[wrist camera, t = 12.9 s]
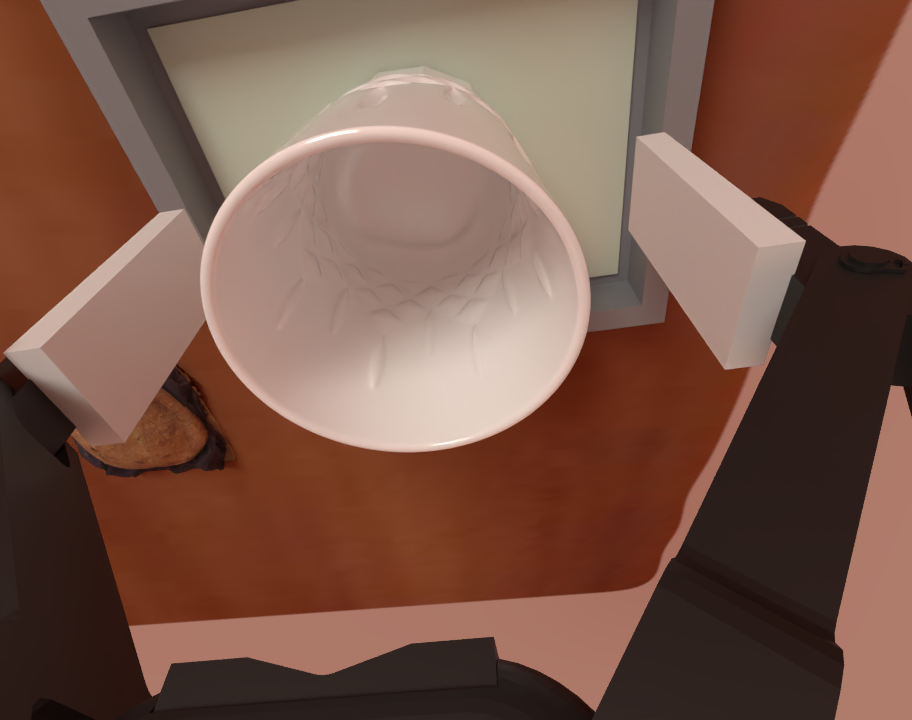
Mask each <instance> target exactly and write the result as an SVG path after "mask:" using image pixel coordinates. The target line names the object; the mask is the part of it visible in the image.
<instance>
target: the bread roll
mask: <svg viewBox="0 0 912 720" xmlns="http://www.w3.org/2000/svg"><path fill="white" fill-rule="evenodd" d="M200 395H201V393H200V392H198V391H197V389H196V387H195V386H193V385H191V380H190V378H189V376H188V375H187V374H185V373H183V372H182V371H181V370H180V369H179V368H178V367H177V366H176V365H175V367H174V368H173V370H172V372H171V373H170V375H169V376H168V378H167V379H166V381H165V382H164V384H163V385H162V387H161V388H160V390H159V391H158V393H157V394H156V396H155V397H154V399H153V400H152V402H151V403H150V405H149V407H148V408H147V410H146V411H145V413H144V414H143V416H142V417H141V419H140V420H139V422H138V423H137V425H136V426H135V428H134V429H133V431H132V432H131V434H130V435H129V437H128V438H127V440H126V441H125V443H117V444H109V445H101V446H92V445H91V444H90V443H89V442H88V441H87V440H86V438H85V437H84V436H83V435H82V434H81V433H80V432H79V431H78V430H77V429H75V430H74V431H73V433H72V434H71V436H72V438H73V439H74V441H75V444H76V445H77V446H78V449H79V453H80V454H81V456H82V457H83V458H85V459H86V460H87V461H89V462H90V463H91V464H92V465H94V466H96V467H98V468H101V469H104V470H105V471H106V475H114V476H119V477H131V476H134V477H137V476H138V475H140V474H142V473H144V472H146V471H156V470H167V469H169V470H171V471H172V472H173V473H175V474H178V473H181V472H184V471H187V470H190V469H195V468H198V469H202V470H204V471H208V470H210V471H211V470H215V469H219V470H222V469H224V462H225V461H231V460H234V459H235V456H234V452H233V449H232V448H231V446H230V444H229V442H228V440H227V438H226V437H225V435H224V432H223V431H222V430H221V428H220V427H219V424H218V422H217V420H216V419H215V418H214V416H212V414H211V412H210V411H209V409H208V408H207V407H206V406H205V403H204V402H203V401H202V399H201V398H199V396H200Z"/></svg>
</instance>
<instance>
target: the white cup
mask: <svg viewBox="0 0 912 720" xmlns="http://www.w3.org/2000/svg"><path fill="white" fill-rule="evenodd" d="M200 290H201V299H202V305H203V309H204V314H205V317H206V321H207V324H208V327H209V329H210V332H211V334H212V337H213V339H214V341H215V343H216V345H217V347H218V349H219V351H220V352H221V354H222V356H223V357H224V359H225V360H226V362H227V363H228V365H229V366H230V368H231V369H232V370H233V372H234V373H235V374H236V375H237V377H238V378H239V379H240V380H241V381H242V382H243V383H244V385H245V386H246V387H247V388H248V389H249V390H250V391H251V392H252V393H253V394H255V395H256V396H257V397H258V398H259V399H260V400H261V401H263V402H264V403H265V404H266V405H268V406H269V407H270V408H272V409H273V410H274V411H276V412H277V413H279V414H280V415H282V416H283V417H285V418H286V419H288V420H290V421H291V422H293V423H295V424H297V425H299V426H301V427H303V428H305V429H307V430H309V431H311V432H313V433H315V434H318V435H320V436H323V437H326V438H328V439H331V440H334V441H337V442H340V443H344V444H348V445H352V446H356V447H361V448H366V449H372V450H379V451H388V452H427V451H437V450H444V449H450V448H455V447H459V446H463V445H467V444H471V443H474V442H477V441H480V440H483V439H485V438H488V437H490V436H493V435H495V434H497V433H500V432H502V431H504V430H506V429H508V428H509V427H511V426H513V425H515V424H516V423H518V422H520V421H521V420H523V419H524V418H526V417H527V416H528V415H530V414H531V413H533V412H534V411H535V410H536V409H537V408H539V407H540V406H541V405H542V404H543V403H544V402H545V401H546V400H547V399H548V398H549V397H550V396H551V395H552V394H553V393H554V392H555V391H556V390H557V389H558V388H559V386H560V385H561V384H562V382H563V381H564V380H565V378H566V377H567V375H568V374H569V372H570V371H571V369H572V367H573V366H574V364H575V362H576V360H577V358H578V356H579V354H580V351H581V349H582V346H583V343H584V340H585V337H586V333H587V329H588V324H589V318H590V309H591V290H590V280H589V274H588V269H587V265H586V261H585V258H584V255H583V252H582V249H581V246H580V244H579V242H578V239H577V237H576V235H575V233H574V231H573V229H572V228H571V226H570V224H569V222H568V221H567V219H566V218H565V216H564V214H563V213H562V211H561V210H560V208H559V206H558V205H557V203H556V201H555V200H554V198H553V197H552V195H551V193H550V192H549V190H548V188H547V187H546V185H545V183H544V182H543V180H542V178H541V177H540V175H539V173H538V171H537V170H536V168H535V166H534V165H533V163H532V161H531V160H530V158H529V156H528V155H527V153H526V151H525V150H524V148H523V147H522V145H521V144H520V143H519V141H518V140H517V139H516V138H515V136H514V135H513V133H512V132H511V130H510V129H509V127H508V126H507V124H506V123H505V122H504V120H503V119H502V118H501V117H500V115H499V114H498V113H497V112H496V111H495V110H494V109H493V108H492V107H491V106H490V105H488V103H487V102H486V101H485V100H484V99H483V98H482V97H481V95H480V94H479V93H478V92H477V91H476V90H475V89H474V88H473V86H472V85H471V84H470V83H469V82H466V81H464V80H461V79H458V78H456V77H453V76H451V75H448V74H445V73H443V72H440V71H438V70H435V69H432V68H430V67H427V66H418V67H411V68H404V69H398V70H391V71H384V72H378V73H377V74H375V75H374V76H373V77H372V78H370V79H369V80H368V81H367V82H365V83H364V84H361V85H359V86H357V87H355V88H353V89H351V90H349V91H348V92H346V93H345V94H343V95H342V96H341V97H340V98H338V99H336V100H335V101H333V102H332V103H330V104H328V105H327V107H325V108H324V109H323V110H322V111H321V112H320V113H318V114H317V115H316V116H315V117H314V118H313V119H311V120H310V121H309V122H308V123H307V124H306V125H305V126H303V127H302V128H301V129H300V130H299V131H297V132H296V133H295V134H294V135H293V136H292V137H291V138H290V139H288V140H287V141H286V142H285V143H284V144H283V145H282V146H280V147H279V148H278V149H277V150H276V151H275V152H273V153H272V154H271V155H270V156H269V157H268V158H266V159H265V160H264V161H263V162H262V163H261V164H259V165H258V166H257V167H256V168H255V169H253V170H252V171H251V172H250V173H249V174H248V175H247V176H246V177H244V178H243V179H242V180H241V182H240V183H239V184H238V185H237V186H236V187H235V188H234V189H233V191H232V192H231V193H230V194H229V196H228V197H227V198H226V200H225V201H224V203H223V204H222V206H221V207H220V209H219V211H218V212H217V214H216V216H215V218H214V220H213V222H212V225H211V227H210V229H209V232H208V235H207V238H206V241H205V245H204V249H203V254H202V259H201V268H200Z"/></svg>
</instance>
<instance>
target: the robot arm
mask: <svg viewBox="0 0 912 720" xmlns="http://www.w3.org/2000/svg"><path fill="white" fill-rule="evenodd" d="M628 230H629V232H630V233H631V235H632V236H633V238H634V239H635V240H636V242H637V243H638V245H639V246H640V248H641V249H642V251H643V252H644V254H645V255H646V256H647V258H648V259H649V261H650V262H651V264H652V265H653V267H654V268H655V269H656V271H657V272H658V274H659V275H660V277H661V278H662V280H663V281H664V282H665V284H666V285H667V287H668V288H669V290H670V291H671V293H672V294H673V296H674V297H675V298H676V300H677V301H678V303H679V304H680V306H681V307H682V309H683V310H684V311H685V313H686V314H687V316H688V317H689V319H690V320H691V322H692V323H693V324H694V326H695V327H696V329H697V330H698V332H699V333H700V335H701V336H702V338H703V339H704V340H705V342H706V343H707V345H708V346H709V348H710V349H711V351H712V352H713V353H714V355H715V356H716V358H717V359H718V361H719V362H720V364H721V365H722V367H723V368H724V369H725V370H726V369H734V368H743V367H751V366H759V365H764V362H765V359H766V356H767V353H768V350H769V347H770V344H771V342H772V341H773V343H774V344H775V345H776V346H777V347H776V349H775V352H774V354H773V356H772V358H771V360H770V362H769V364H768V366H767V368H766V371H765V372H764V375H763V377H762V379H761V381H760V383H759V385H758V387H757V389H756V391H755V393H754V396H753V398H752V400H751V402H750V404H749V406H748V408H747V410H746V413H745V414H744V417H743V419H742V421H741V423H740V425H739V427H738V429H737V431H736V433H735V435H734V438H733V440H732V442H731V444H730V446H729V448H728V450H727V452H726V454H725V456H724V459H723V461H722V463H721V465H720V467H719V469H718V471H717V473H716V476H715V477H714V480H713V482H712V484H711V486H710V488H709V490H708V492H707V494H706V496H705V498H704V500H703V502H702V505H701V507H700V509H699V511H698V513H697V516H696V517H695V519H694V521H693V524H692V526H691V528H690V530H689V532H688V534H687V536H686V538H685V541H684V542H683V544H682V547H681V548H680V550H679V552H678V554H677V556H676V557H675V558H672V559H671V561H670V562H669V564H668V565H667V567H666V569H665V571H664V573H663V575H662V577H661V579H660V580H659V582H658V584H657V587H656V588H655V591H654V593H653V595H652V597H651V599H650V601H649V603H648V605H647V607H646V609H645V611H644V613H643V615H642V617H641V620H640V622H639V623H638V626H637V628H636V630H635V632H634V634H633V636H632V638H631V640H630V642H629V644H628V646H627V648H626V650H625V653H624V655H623V657H622V659H621V661H620V663H619V665H618V667H617V669H616V671H615V673H614V675H613V677H612V679H611V681H610V683H609V686H608V687H607V690H606V692H605V694H604V696H603V698H602V700H601V702H600V704H599V706H598V708H597V710H596V712H595V711H594V710H592V709H591V708H590V707H589V706H588V705H587V704H586V703H585V702H584V701H583V700H582V699H580V698H579V697H578V696H577V695H576V694H574V693H573V692H571V691H570V690H569V689H567V688H566V687H565V686H563V685H562V684H560V683H559V682H557V681H556V680H554V679H552V678H550V677H548V676H546V675H544V674H543V673H541V672H539V671H537V670H534V669H531V668H529V667H526V666H524V665H521V664H519V663H515V662H510V661H506V660H502V659H499V657H498V653H497V649H496V645H495V640H494V637H486V638H474V639H462V640H450V641H438V642H426V643H415V644H409V645H407V646H404V647H402V648H399V649H396V650H394V651H391V652H388V653H386V654H383V655H380V656H378V657H375V658H372V659H370V660H367V661H364V662H362V663H359V664H356V665H354V666H351V667H348V668H346V669H343V670H340V671H338V672H335V673H332V674H329V675H316V674H311V673H307V672H304V671H300V670H295V669H291V668H288V667H284V666H280V665H275V664H271V663H268V662H264V661H259V660H255V659H251V658H247V657H246V658H234V659H223V660H211V661H199V662H187V663H174V664H171V666H170V669H169V671H168V674H167V677H166V679H165V682H164V685H163V687H162V690H161V692H160V693H159V694H157V695H155V696H153V697H152V696H151V695H150V693H149V691H148V688H147V686H146V683H145V680H144V677H143V673H142V670H141V666H140V663H139V660H138V656H137V653H136V650H135V646H134V643H133V639H132V636H131V632H130V629H129V626H128V622H127V619H126V616H125V612H124V609H123V605H122V602H121V599H120V595H119V592H118V589H117V585H116V582H115V578H114V575H113V572H112V568H111V565H110V562H109V558H108V555H107V551H106V548H105V545H104V541H103V538H102V535H101V531H100V528H99V524H98V521H97V518H96V514H95V511H94V507H93V504H92V501H91V497H90V494H89V491H88V487H87V484H86V480H85V477H84V474H83V470H82V467H81V464H80V460H79V457H78V453H77V452H76V451H75V450H74V449H73V448H72V447H71V446H70V445H69V444H68V443H67V442H66V440H67V439H68V438H69V436H70V435H71V434H72V433H73V431H74V430H75V429H77V430H78V431H79V432H80V433H81V434H82V435H83V436H84V437H85V438H86V440H87V441H88V442H89V443H90V444H91V445H92V446H101V445H109V444H117V443H125V441H126V440H127V438H128V437H129V435H130V434H131V432H132V431H133V429H134V428H135V426H136V425H137V423H138V422H139V420H140V419H141V417H142V416H143V414H144V413H145V411H146V410H147V408H148V407H149V405H150V403H151V402H152V400H153V399H154V397H155V396H156V394H157V393H158V391H159V390H160V388H161V387H162V385H163V384H164V382H165V381H166V379H167V378H168V376H169V375H170V373H171V372H172V370H173V368H174V367H175V365H176V364H177V362H178V361H179V359H180V358H181V356H182V355H183V353H184V352H185V350H186V349H187V347H188V346H189V344H190V343H191V341H192V340H193V338H194V337H195V335H196V333H197V332H198V330H199V329H200V327H201V326H202V324H203V323H204V321H205V320H206V317H205V314H204V309H203V305H202V299H201V290H200V268H201V259H202V254H203V249H204V245H203V244H202V242H201V240H200V238H199V236H198V234H197V232H196V230H195V228H194V226H193V225H192V223H191V221H190V219H189V217H188V215H187V213H186V211H185V209H180V210H173V211H167V212H161V213H159V214H158V215H157V216H156V217H154V218H153V219H152V220H151V221H150V222H149V223H148V224H147V225H145V226H144V227H143V228H142V229H141V230H140V231H139V232H138V233H137V234H135V235H134V236H133V237H132V238H131V239H130V240H129V241H128V242H126V243H125V244H124V245H123V246H122V247H121V248H120V249H119V250H118V251H116V252H115V253H114V254H113V255H112V256H111V257H110V258H109V259H107V260H106V261H105V262H104V263H103V264H102V265H101V266H100V267H99V268H97V269H96V270H95V271H94V272H93V273H92V274H91V275H90V276H88V277H87V278H86V279H85V280H84V281H83V282H82V283H81V284H80V285H78V286H77V287H76V288H75V289H74V290H73V291H72V292H71V293H70V294H68V295H67V296H66V297H65V298H64V299H63V300H62V301H61V302H59V303H58V304H57V305H56V306H55V307H54V308H53V309H52V310H51V311H49V312H48V313H47V314H46V315H45V316H44V317H43V318H42V319H40V320H39V321H38V322H37V323H36V324H35V325H34V326H33V327H32V328H30V329H29V330H28V331H27V332H26V333H25V334H24V335H23V336H21V337H20V338H19V339H18V340H17V341H16V342H15V343H14V344H13V345H11V346H10V347H9V348H8V349H7V350H6V351H5V352H4V353H3V354H4V355H5V356H6V358H5V359H4V360H3V361H2V362H1V363H0V720H834V719H835V715H836V710H837V705H838V700H839V695H840V690H841V683H842V676H843V669H844V660H843V659H844V658H843V650H842V649H841V648H840V647H839V646H838V645H837V644H836V643H835V635H834V634H835V628H836V622H837V617H838V613H839V608H840V604H841V600H842V596H843V591H844V587H845V583H846V578H847V574H848V570H849V565H850V561H851V556H852V552H853V547H854V543H855V539H856V534H857V530H858V526H859V522H860V517H861V513H862V509H863V504H864V500H865V495H866V491H867V487H868V482H869V478H870V474H871V469H872V465H873V461H874V456H875V452H876V448H877V443H878V439H879V435H880V430H881V426H882V421H883V417H884V413H885V408H886V404H887V399H888V395H889V391H890V387H891V385H894V386H903V387H904V391H905V394H906V398H907V402H908V405H909V409H910V412H911V416H912V262H911V261H909V260H908V259H907V258H906V257H904V256H901V255H899V254H897V253H894V252H892V251H889V250H885V249H880V248H876V247H869V246H856V245H853V246H838V245H837V244H836V243H834V242H833V241H831V240H830V239H829V238H827V237H826V236H824V235H823V234H822V233H820V232H819V231H817V230H816V229H815V228H813V227H812V226H807V223H806V222H805V221H804V220H802V219H801V218H799V217H796V215H795V214H794V213H792V212H791V211H790V210H788V209H787V208H786V207H784V206H783V205H781V204H778V203H775V202H772V201H769V200H766V199H764V198H761V197H758V198H752V199H751V198H750V197H748V196H747V195H746V194H744V193H743V192H742V191H741V190H739V189H738V188H737V187H735V186H734V185H733V184H731V183H730V182H729V181H728V180H726V179H725V178H724V177H722V176H721V175H720V174H719V173H717V172H716V171H715V170H713V169H712V168H711V167H709V166H708V165H707V164H706V163H704V162H703V161H702V160H700V159H699V158H698V157H697V156H695V155H694V154H693V153H691V152H690V151H689V150H687V149H686V148H685V147H684V146H682V145H681V144H680V143H678V142H677V141H676V140H674V139H673V138H672V137H671V136H669V135H668V134H667V133H665V132H662V133H656V134H650V135H644V136H637V137H636V147H635V158H634V170H633V182H632V193H631V205H630V216H629V228H628Z"/></svg>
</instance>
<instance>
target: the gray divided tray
mask: <svg viewBox="0 0 912 720" xmlns="http://www.w3.org/2000/svg"><path fill="white" fill-rule="evenodd" d="M714 1H715V0H40V2H41V3H42V5H43V7H44V9H45V10H46V12H47V14H48V16H49V18H50V19H51V21H52V23H53V25H54V26H55V28H56V30H57V32H58V34H59V35H60V37H61V39H62V41H63V42H64V44H65V46H66V48H67V50H68V51H69V53H70V55H71V57H72V59H73V60H74V62H75V64H76V66H77V67H78V69H79V71H80V73H81V75H82V76H83V78H84V80H85V82H86V83H87V85H88V87H89V89H90V91H91V92H92V94H93V96H94V98H95V99H96V101H97V103H98V105H99V107H100V108H101V110H102V112H103V114H104V115H105V117H106V119H107V121H108V123H109V124H110V126H111V128H112V130H113V131H114V133H115V135H116V137H117V139H118V140H119V142H120V144H121V146H122V148H123V149H124V151H125V153H126V155H127V156H128V158H129V160H130V162H131V164H132V165H133V167H134V169H135V171H136V172H137V174H138V176H139V178H140V180H141V181H142V183H143V185H144V187H145V188H146V190H147V192H148V194H149V196H150V197H151V199H152V201H153V203H154V204H155V206H156V208H157V210H158V212H159V213H161V212H167V211H173V210H180V209H185V211H186V213H187V215H188V217H189V219H190V221H191V223H192V225H193V226H194V228H195V230H196V232H197V234H198V236H199V238H200V240H201V242H202V244H203V245H205V241H206V238H207V235H208V232H209V229H210V227H211V225H212V222H213V220H214V218H215V216H216V214H217V212H218V211H219V209H220V207H221V206H222V204H223V203H224V201H225V200H226V198H227V197H228V196H229V194H230V193H231V192H232V191H233V189H234V188H235V187H236V186H237V185H238V184H239V183H240V182H241V180H242V179H243V178H244V177H246V176H247V175H248V174H249V173H250V172H251V171H252V170H253V169H255V168H256V167H257V166H258V165H259V164H261V163H262V162H263V161H264V160H265V159H266V158H268V157H269V156H270V155H271V154H272V153H273V152H275V151H276V150H277V149H278V148H279V147H280V146H282V145H283V144H284V143H285V142H286V141H287V140H288V139H290V138H291V137H292V136H293V135H294V134H295V133H296V132H297V131H299V130H300V129H301V128H302V127H303V126H305V125H306V124H307V123H308V122H309V121H310V120H311V119H313V118H314V117H315V116H316V115H317V114H318V113H320V112H321V111H322V110H323V109H324V108H325V107H327V105H328V104H330V103H332V102H333V101H335V100H336V99H338V98H340V97H341V96H342V95H343V94H345V93H346V92H348V91H349V90H351V89H353V88H355V87H357V86H359V85H361V84H364V83H365V82H367V81H368V80H369V79H370V78H372V77H373V76H374V75H375V74H377V73H378V72H384V71H391V70H398V69H404V68H411V67H418V66H427V67H430V68H432V69H435V70H438V71H440V72H443V73H445V74H448V75H451V76H453V77H456V78H458V79H461V80H464V81H466V82H469V83H470V84H471V85H472V86H473V88H474V89H475V90H476V91H477V92H478V93H479V94H480V95H481V97H482V98H483V99H484V100H485V101H486V102H487V103H488V105H490V106H491V107H492V108H493V109H494V110H495V111H496V112H497V113H498V114H499V115H500V117H501V118H502V119H503V120H504V122H505V123H506V124H507V126H508V127H509V129H510V130H511V132H512V133H513V135H514V136H515V138H516V139H517V140H518V141H519V143H520V144H521V145H522V147H523V148H524V150H525V151H526V153H527V155H528V156H529V158H530V160H531V161H532V163H533V165H534V166H535V168H536V170H537V171H538V173H539V175H540V177H541V178H542V180H543V182H544V183H545V185H546V187H547V188H548V190H549V192H550V193H551V195H552V197H553V198H554V200H555V201H556V203H557V205H558V206H559V208H560V210H561V211H562V213H563V214H564V216H565V218H566V219H567V221H568V222H569V224H570V226H571V228H572V229H573V231H574V233H575V235H576V237H577V239H578V242H579V244H580V246H581V249H582V252H583V255H584V258H585V261H586V265H587V269H588V274H589V280H590V290H591V309H590V318H589V324H588V329H587V332H593V331H601V330H609V329H616V328H624V327H632V326H640V325H648V324H655V323H663V322H664V321H665V315H666V308H667V302H668V295H669V288H668V287H667V285H666V284H665V282H664V281H663V280H662V278H661V277H660V275H659V274H658V272H657V271H656V269H655V268H654V267H653V265H652V264H651V262H650V261H649V259H648V258H647V256H646V255H645V254H644V252H643V251H642V249H641V248H640V246H639V245H638V243H637V242H636V240H635V239H634V238H633V236H632V235H631V233H630V232H629V230H628V228H629V216H630V205H631V193H632V182H633V170H634V158H635V147H636V137H637V136H644V135H650V134H656V133H662V132H665V133H667V134H668V135H669V136H671V137H672V138H673V139H674V140H676V141H677V142H678V143H680V144H681V145H682V146H684V147H685V148H686V149H687V150H689V151H690V152H691V148H692V142H693V135H694V129H695V123H696V116H697V110H698V103H699V97H700V91H701V84H702V78H703V71H704V65H705V59H706V52H707V46H708V39H709V33H710V27H711V20H712V14H713V7H714Z"/></svg>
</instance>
